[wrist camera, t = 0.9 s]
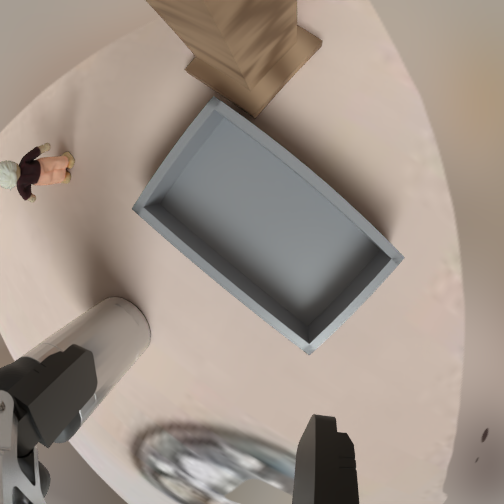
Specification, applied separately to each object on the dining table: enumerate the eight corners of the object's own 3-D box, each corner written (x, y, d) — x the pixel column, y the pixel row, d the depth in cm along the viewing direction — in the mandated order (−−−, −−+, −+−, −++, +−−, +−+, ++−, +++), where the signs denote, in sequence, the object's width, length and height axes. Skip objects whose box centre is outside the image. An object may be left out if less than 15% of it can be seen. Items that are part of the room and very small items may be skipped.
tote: (307, 333, 35) (309, 355, 30) (152, 205, 34) (131, 208, 29) (389, 247, 31) (404, 257, 26) (224, 108, 30) (213, 95, 25)
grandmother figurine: (60, 144, 34) (-7, 140, 22) (78, 145, 34) (9, 140, 21) (53, 197, 36) (-13, 207, 23) (70, 201, 35) (2, 212, 23)
